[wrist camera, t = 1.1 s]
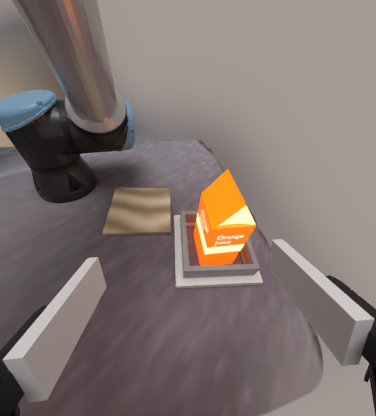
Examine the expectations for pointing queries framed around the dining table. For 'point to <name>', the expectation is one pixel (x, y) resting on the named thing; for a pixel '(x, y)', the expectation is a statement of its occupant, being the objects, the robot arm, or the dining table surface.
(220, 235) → the orange juice
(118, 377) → the dining table surface
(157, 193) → the oak board
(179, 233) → the collar holder
